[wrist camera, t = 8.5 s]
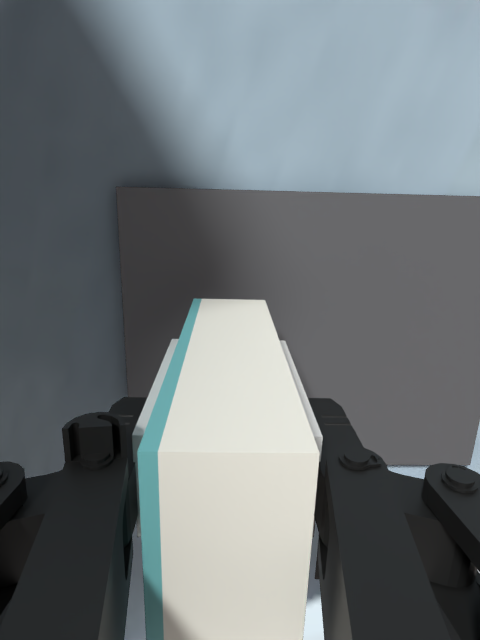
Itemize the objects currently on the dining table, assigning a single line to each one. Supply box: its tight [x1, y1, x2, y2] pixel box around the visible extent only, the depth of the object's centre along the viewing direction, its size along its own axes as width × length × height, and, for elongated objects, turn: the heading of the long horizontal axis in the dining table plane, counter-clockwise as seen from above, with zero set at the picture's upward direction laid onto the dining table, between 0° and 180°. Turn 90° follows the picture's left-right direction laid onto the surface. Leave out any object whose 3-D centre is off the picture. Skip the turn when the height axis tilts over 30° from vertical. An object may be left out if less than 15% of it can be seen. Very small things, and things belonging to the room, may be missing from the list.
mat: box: [116, 187, 480, 465], centre depth 19 cm, size 17×13×1 cm
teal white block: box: [137, 299, 320, 640], centre depth 12 cm, size 3×6×10 cm, turn 178°
